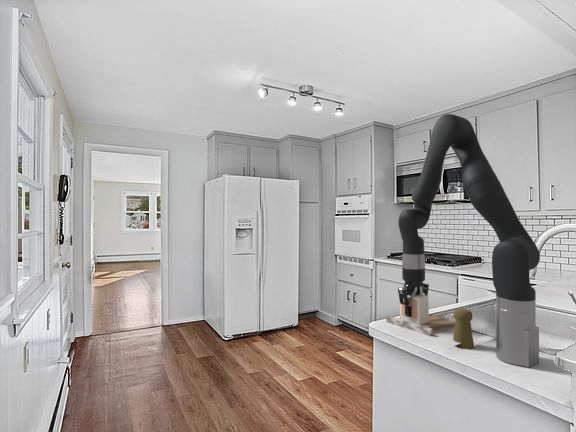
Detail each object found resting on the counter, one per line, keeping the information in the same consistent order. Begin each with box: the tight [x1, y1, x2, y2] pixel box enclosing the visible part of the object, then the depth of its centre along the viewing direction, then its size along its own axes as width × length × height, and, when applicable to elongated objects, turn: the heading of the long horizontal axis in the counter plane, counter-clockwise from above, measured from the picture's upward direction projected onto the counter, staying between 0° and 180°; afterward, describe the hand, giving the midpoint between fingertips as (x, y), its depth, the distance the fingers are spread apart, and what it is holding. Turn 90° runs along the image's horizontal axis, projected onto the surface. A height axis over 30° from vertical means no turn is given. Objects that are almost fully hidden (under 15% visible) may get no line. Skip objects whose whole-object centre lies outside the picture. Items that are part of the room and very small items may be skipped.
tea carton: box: [399, 294, 430, 325], centre depth 124 cm, size 8×5×9 cm, turn 33°
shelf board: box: [385, 313, 456, 337], centre depth 126 cm, size 18×20×4 cm
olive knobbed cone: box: [452, 308, 475, 350], centre depth 109 cm, size 6×6×11 cm
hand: (413, 314), depth 124 cm, fingers closed on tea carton, 5 cm apart
